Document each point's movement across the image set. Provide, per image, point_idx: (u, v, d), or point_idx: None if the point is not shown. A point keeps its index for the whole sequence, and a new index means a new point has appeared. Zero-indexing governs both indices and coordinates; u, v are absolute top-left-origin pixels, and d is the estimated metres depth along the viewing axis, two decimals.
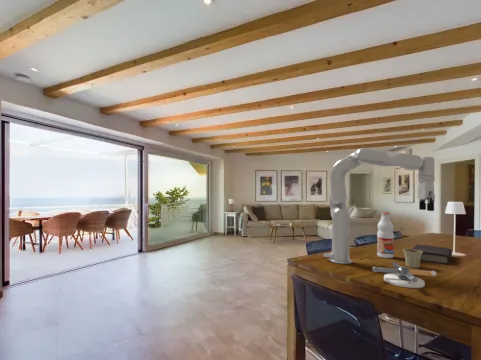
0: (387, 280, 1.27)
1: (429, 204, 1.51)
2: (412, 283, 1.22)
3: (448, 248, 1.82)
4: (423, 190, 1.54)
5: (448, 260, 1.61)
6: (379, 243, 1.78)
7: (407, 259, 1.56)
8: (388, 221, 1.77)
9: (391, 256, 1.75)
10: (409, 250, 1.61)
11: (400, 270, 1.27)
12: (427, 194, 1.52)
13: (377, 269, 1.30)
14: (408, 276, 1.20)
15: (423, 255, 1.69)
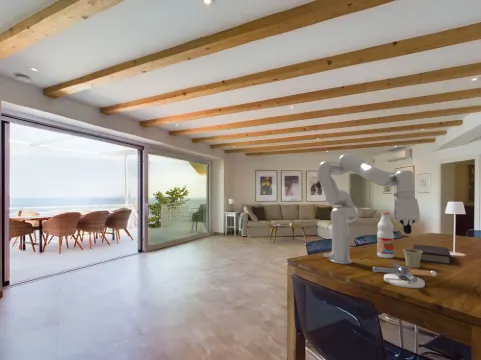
0: (387, 280, 1.27)
1: (410, 226, 1.36)
2: (412, 283, 1.22)
3: (445, 248, 1.84)
4: (415, 208, 1.35)
5: (451, 260, 1.61)
6: (379, 243, 1.78)
7: (407, 259, 1.56)
8: (388, 221, 1.77)
9: (391, 256, 1.75)
10: (409, 250, 1.61)
11: (400, 270, 1.27)
12: None
13: (377, 269, 1.30)
14: (408, 276, 1.20)
15: (425, 255, 1.68)
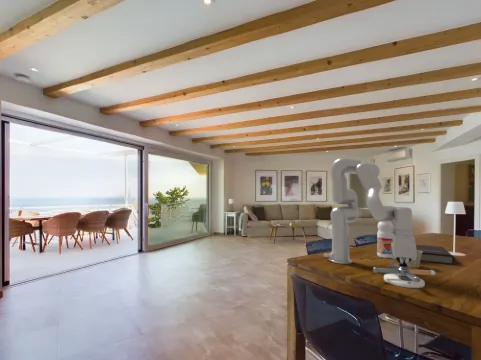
0: (387, 280, 1.27)
1: (406, 265, 1.34)
2: (412, 283, 1.22)
3: (442, 247, 1.85)
4: (412, 247, 1.32)
5: (453, 260, 1.61)
6: (379, 243, 1.78)
7: None
8: (388, 221, 1.77)
9: None
10: None
11: (400, 270, 1.27)
12: None
13: (378, 270, 1.29)
14: (410, 276, 1.20)
15: (428, 256, 1.67)
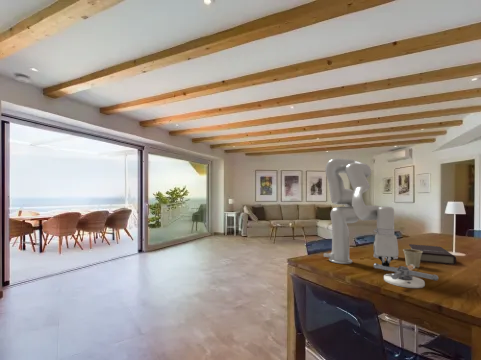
0: (387, 280, 1.27)
1: (388, 263, 1.36)
2: (412, 283, 1.22)
3: (440, 247, 1.86)
4: (394, 246, 1.34)
5: (455, 260, 1.62)
6: None
7: (407, 259, 1.56)
8: None
9: None
10: (409, 250, 1.61)
11: (405, 271, 1.26)
12: None
13: (397, 276, 1.20)
14: (424, 275, 1.22)
15: (429, 256, 1.67)
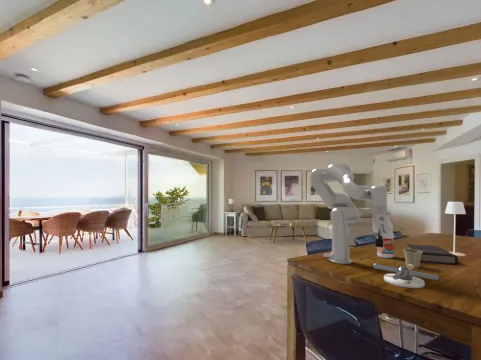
0: (387, 280, 1.27)
1: None
2: (412, 283, 1.22)
3: None
4: None
5: (457, 260, 1.62)
6: None
7: (407, 259, 1.56)
8: (388, 221, 1.77)
9: (391, 256, 1.75)
10: (409, 250, 1.61)
11: (405, 271, 1.26)
12: None
13: (398, 276, 1.20)
14: (424, 275, 1.22)
15: (432, 256, 1.66)
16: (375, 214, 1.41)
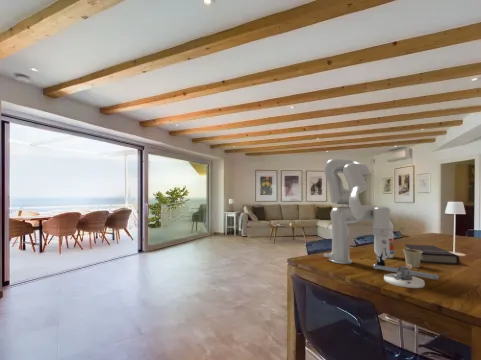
0: (387, 280, 1.27)
1: None
2: (412, 283, 1.22)
3: (435, 246, 1.88)
4: None
5: (458, 260, 1.62)
6: None
7: (407, 259, 1.56)
8: None
9: (391, 256, 1.75)
10: (409, 250, 1.61)
11: (406, 271, 1.26)
12: None
13: (400, 276, 1.19)
14: (424, 275, 1.22)
15: (434, 256, 1.66)
16: (377, 236, 1.36)
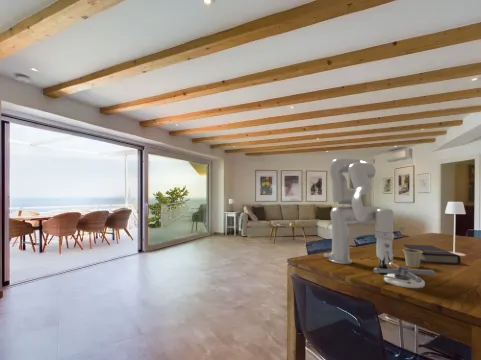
0: (387, 280, 1.27)
1: None
2: (412, 283, 1.22)
3: (433, 246, 1.89)
4: None
5: (459, 259, 1.63)
6: None
7: (407, 259, 1.56)
8: None
9: None
10: (409, 250, 1.61)
11: (408, 271, 1.27)
12: None
13: None
14: (423, 272, 1.27)
15: (436, 257, 1.65)
16: (380, 240, 1.30)
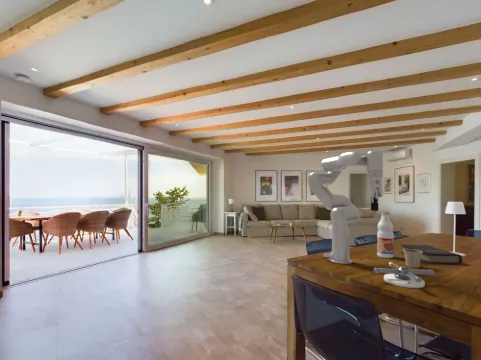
0: (387, 280, 1.27)
1: None
2: (412, 283, 1.22)
3: None
4: None
5: (461, 259, 1.64)
6: (379, 243, 1.78)
7: (407, 259, 1.56)
8: (388, 221, 1.77)
9: (391, 256, 1.75)
10: (409, 250, 1.61)
11: (408, 271, 1.27)
12: None
13: None
14: (423, 272, 1.27)
15: (439, 257, 1.65)
16: (371, 178, 1.43)
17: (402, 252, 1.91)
